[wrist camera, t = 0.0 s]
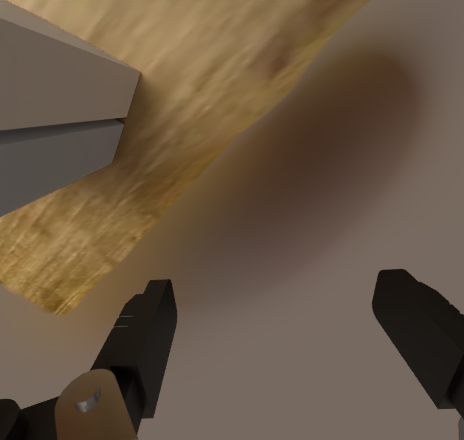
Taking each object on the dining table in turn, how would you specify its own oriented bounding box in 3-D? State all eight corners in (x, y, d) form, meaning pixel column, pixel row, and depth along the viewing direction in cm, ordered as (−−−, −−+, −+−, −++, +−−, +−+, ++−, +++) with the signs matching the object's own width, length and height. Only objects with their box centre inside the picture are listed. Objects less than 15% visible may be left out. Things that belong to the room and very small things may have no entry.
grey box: (124, 124, 35) (-21, 148, 15) (112, 163, 37) (-30, 231, 17) (25, 74, 32) (-311, 23, 12) (18, 120, 35) (-277, 139, 14)
